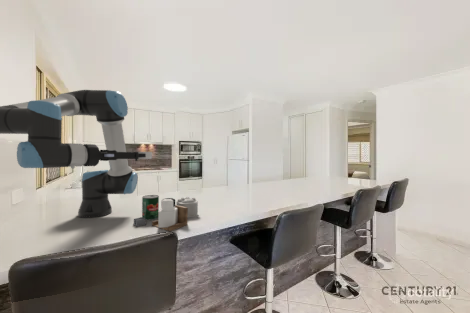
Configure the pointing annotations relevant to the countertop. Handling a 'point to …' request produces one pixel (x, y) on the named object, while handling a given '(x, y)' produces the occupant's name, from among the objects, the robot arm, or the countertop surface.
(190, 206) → the lumpy-topped squat cylinder
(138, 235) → the countertop surface
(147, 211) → the canned tomato
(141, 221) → the clip
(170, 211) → the medicine bottle
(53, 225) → the countertop surface
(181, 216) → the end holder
